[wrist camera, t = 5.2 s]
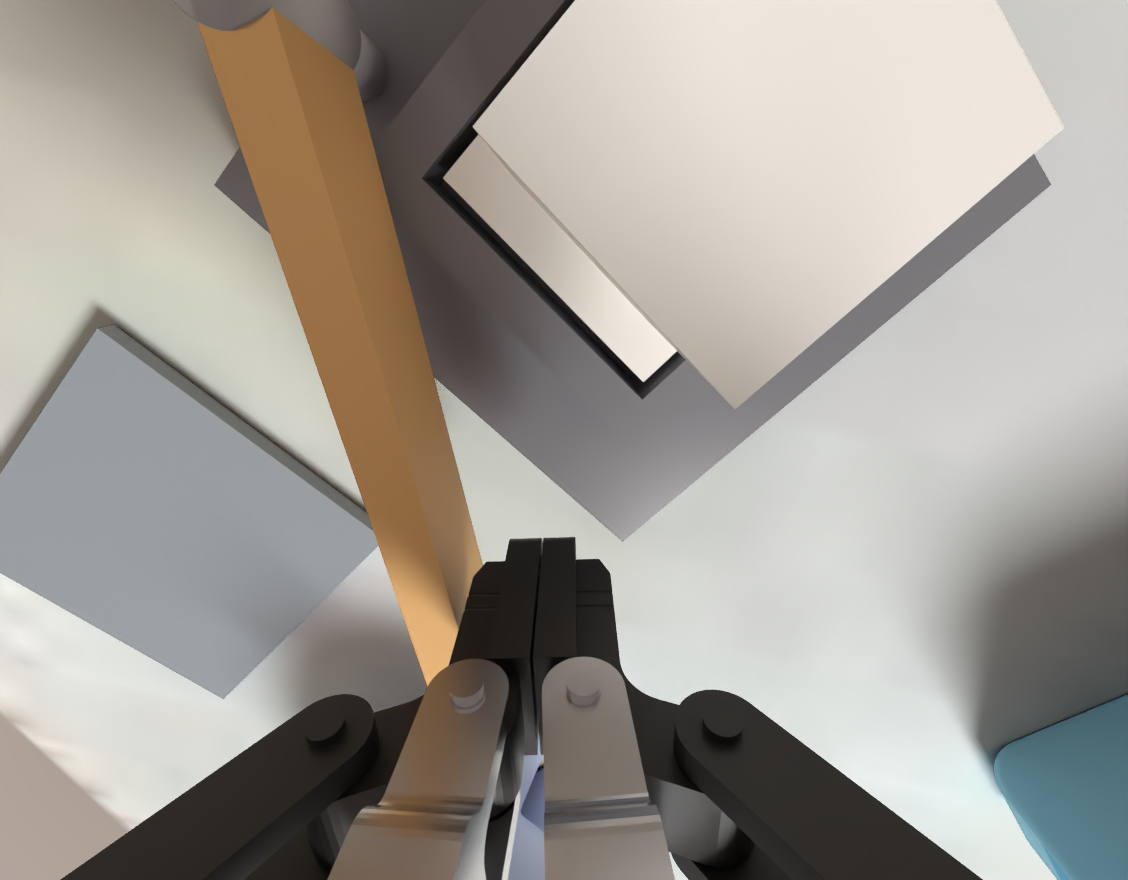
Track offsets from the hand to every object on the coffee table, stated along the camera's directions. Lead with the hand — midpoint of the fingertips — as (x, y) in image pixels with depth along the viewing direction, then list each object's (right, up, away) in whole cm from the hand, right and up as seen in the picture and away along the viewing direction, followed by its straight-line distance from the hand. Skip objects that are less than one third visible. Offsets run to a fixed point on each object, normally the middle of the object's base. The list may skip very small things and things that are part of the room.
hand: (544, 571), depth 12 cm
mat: (-13, 0, +6) cm, 14 cm away
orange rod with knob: (-3, +5, 0) cm, 6 cm away
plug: (+2, +9, 0) cm, 9 cm away
